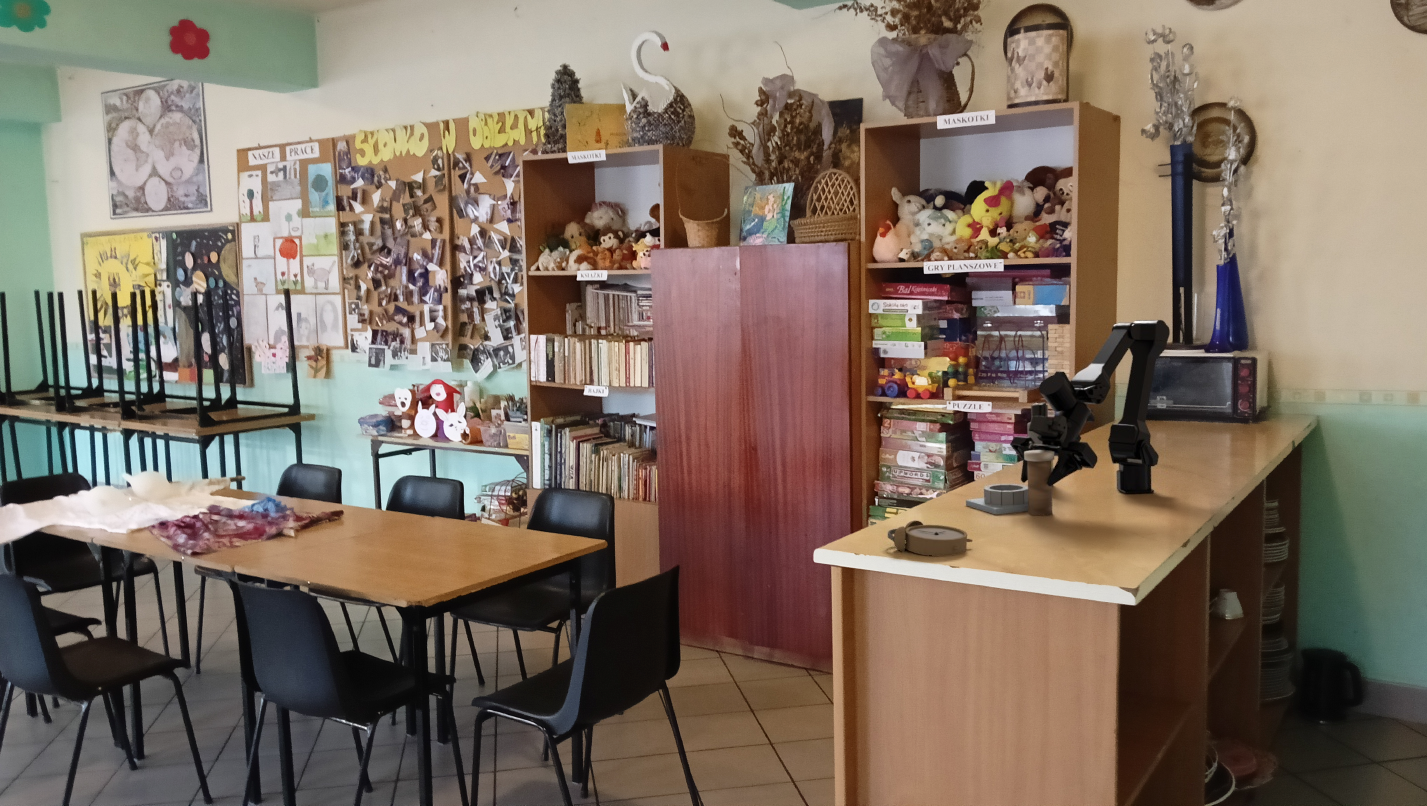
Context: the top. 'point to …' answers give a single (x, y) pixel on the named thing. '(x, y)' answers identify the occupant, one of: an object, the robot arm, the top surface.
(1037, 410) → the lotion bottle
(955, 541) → the alarm clock
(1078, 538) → the top surface
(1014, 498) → the collar socket
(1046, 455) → the walnut peg
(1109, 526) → the top surface
